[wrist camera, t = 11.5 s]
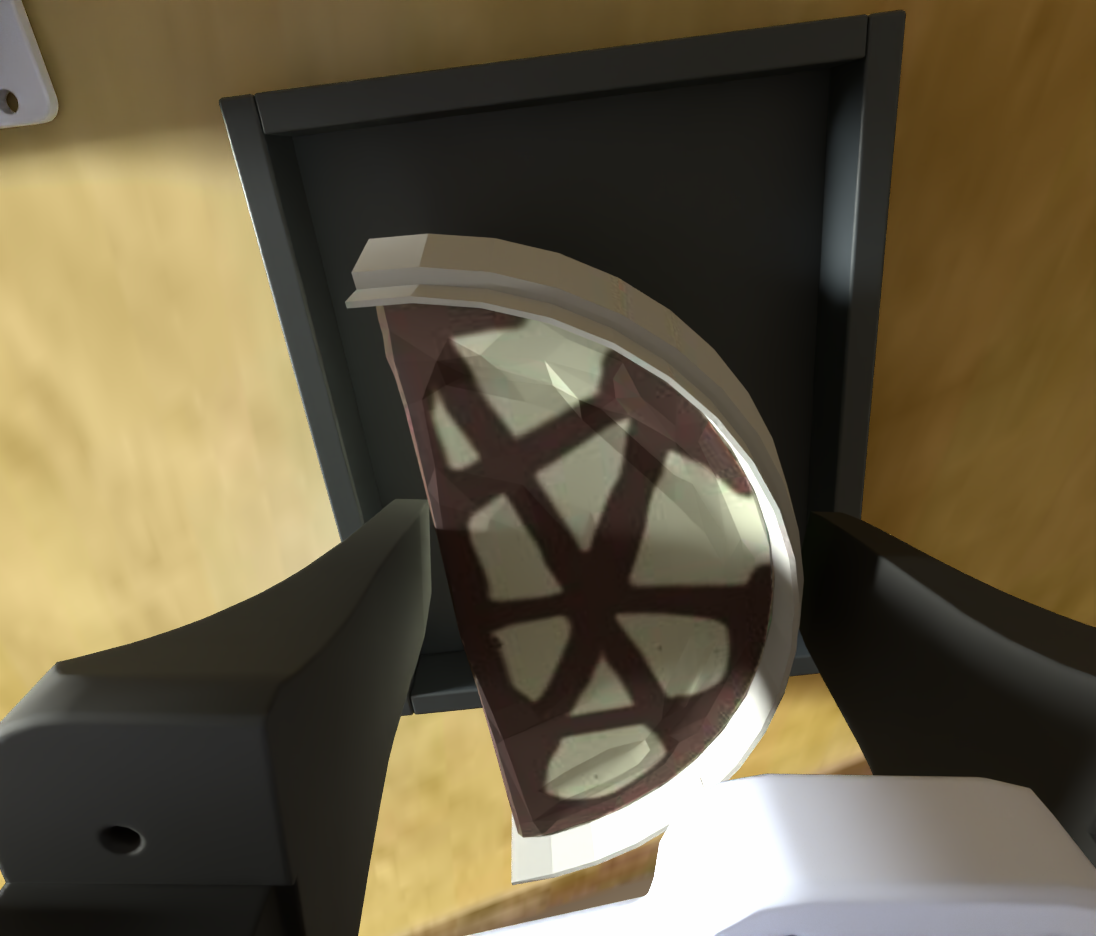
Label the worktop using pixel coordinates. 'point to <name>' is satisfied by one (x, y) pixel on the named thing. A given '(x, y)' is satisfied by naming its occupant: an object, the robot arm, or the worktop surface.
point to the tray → (595, 235)
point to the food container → (591, 533)
